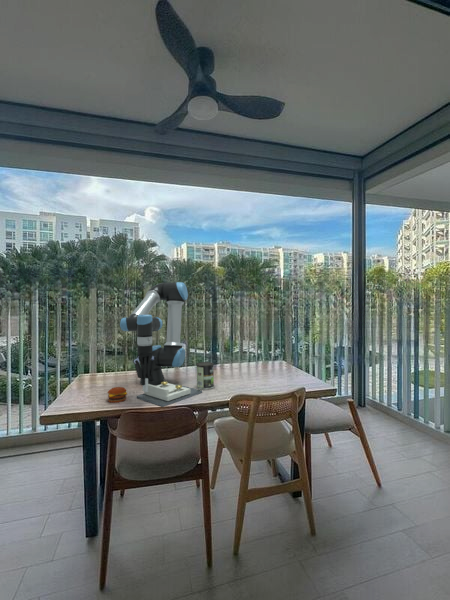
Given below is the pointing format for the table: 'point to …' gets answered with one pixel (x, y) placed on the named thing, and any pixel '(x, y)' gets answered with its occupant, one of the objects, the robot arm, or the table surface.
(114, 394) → the hamburger
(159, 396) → the panel
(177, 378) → the table surface
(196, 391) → the base
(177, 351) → the robot arm
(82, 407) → the table surface
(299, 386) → the table surface
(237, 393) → the table surface
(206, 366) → the coffee can
